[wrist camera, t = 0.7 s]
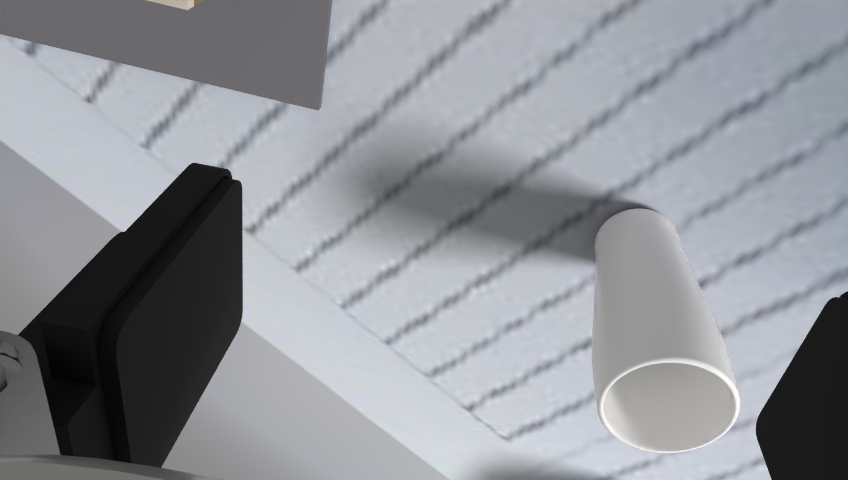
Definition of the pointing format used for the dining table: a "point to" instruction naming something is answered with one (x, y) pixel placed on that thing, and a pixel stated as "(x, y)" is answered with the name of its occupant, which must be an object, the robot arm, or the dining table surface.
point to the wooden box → (178, 3)
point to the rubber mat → (192, 39)
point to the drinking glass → (656, 341)
